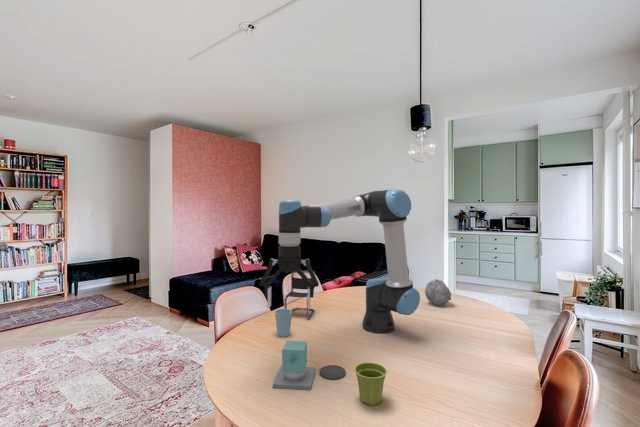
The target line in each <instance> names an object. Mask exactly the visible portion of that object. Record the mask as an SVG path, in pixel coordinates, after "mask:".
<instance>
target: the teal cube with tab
mask: <svg viewBox="0 0 640 427" xmlns="http://www.w3.org/2000/svg"><path fill="white" fill-rule="evenodd" d="M307 364H308V341H304V340H286V341H285V343H284V345H283V347H282V349H281V366H282V371H284V372H304V371H305V368H306V367H307Z"/></svg>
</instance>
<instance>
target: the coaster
mask: <svg viewBox="0 0 640 427" xmlns="http://www.w3.org/2000/svg"><path fill="white" fill-rule="evenodd" d="M318 373H319V376H320V377H321V378H322V379H325V380H330V381H336V380H338V381H339V380H340V379H343V378H345V377H346V373H347V371H346V369H345V368H344V367H343V366H341V365H337V364H327V365H324V366H322V367H320V369H319V372H318Z"/></svg>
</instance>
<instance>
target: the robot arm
mask: <svg viewBox="0 0 640 427" xmlns="http://www.w3.org/2000/svg"><path fill="white" fill-rule="evenodd" d="M411 211H412V201H411V198H410V196H409V194H407V193H406V191H404V190H403V189H398V188H397V189H396V188H394V189H393V188H391V189H384V190H374V191H370V192H366V193H362V194H357V195H354V196H352V198H348V199H347V198H346V199H342V200H341V199H339V200H335V201H327V202H321V203H316V204H309V205H308V204H307V205H302V203H301V201H300V200H296V199H295V200H293V199H290V200H289V199H286V200H281V201H280V202H279V205H278V213H277V214H278V258H277V259H274V258H270V259H269V260H268V266H267V268H266V270H265V272H264V274H263V276H262V278H261V280H260V281H259V284H258V285H259V287H263V288H264V297H265V298H267V308H268V309H269V308H271V306H272V286H271V284H272V283H273V282H274V281H275V280H276V278H277V277H278V276H279V275H280V274H281V273H282V272H284V273H292V272H295V271H296V272H297V273H296V274H298V275H299V277H301V278H302V279H303V280H304V281H305V282H306V283H307V285H308V286H309V287H308V290H307V293H308V297H307V298H308V308H309V309H311V308H310V307H311V299H312V298H314V294H313V289H314V290H315V288H317V287H319V281H318V279H317V276H316V275H315V274H316V273H315V274H314V272H315V271H314V272H313V269H312V267H311V264H310V259H309V258H306V259H301V245H300V244H301V238H302V237H301V230H302V229H301V228H319V229H320V228H326V227H329V225H330V223H331V220H337V219H342V218H348V217H353V216H355V217H357V218H358V217H359V218H360V217H375V218H376V217H378V222H379V223H380V224H381V225H382V227H383V236H384V248H385V257H386V268H387V277H382V278H381V277H378V278H371V279H368V280H367V281H366V282H365V284H366V285H365V313H364V316H363V319H362V322H361V323H362V328H363V329H364V330H365V331H367V332H371V333H376V334H387V333H390V332H391V333H392V332H393V331H394V330H395V329H396V328H395V327H396V323H395V320H394V317H393V314H392V312H395V313H397V314H399V315H404V316H411V315H412V314H414V313H415V312H416V311H417V309H418V308H419V305H420V302H421V295H420V292H419V290H417V289H416V288H414V284H413V281H412V279H411V278H409V271H408V270H409V268H408V259H407V249H406V248H407V247H406V238H405V237H406V236H405V227H404V226H405V225H404V224H405V223H406V222H407V218H408V216H409V215H410V213H411ZM276 264H277V265H278V267H279V268H278V270H276V272H274V274H273V275H272V276H271V278H269V280H268V281H267V278H268V276H269V275H270V273H271V271H272V269H273V266H275V265H276ZM302 264H303V266H304V267H305V268H306V271H308V272H309V273H308V274H309V276H310V278H312V280H313V282H314V283H312V282H311V281H310V280H309V279H308V278H309V277H308V276H307V275H306V273H303V271H304V270H302V268H300V266H301V265H302Z"/></svg>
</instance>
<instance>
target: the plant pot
mask: <svg viewBox="0 0 640 427" xmlns="http://www.w3.org/2000/svg"><path fill="white" fill-rule="evenodd" d="M353 370H354V373H355V376H356V378H357V385H358V390H359V391H358V392H359V398H360V401H361V402H362V403H365V404H366V405H368V406H376V405H378V404H380V403H381V402H382V398H383V390H384V383H385V379H386V378H385V377H386V375H387V373H388V370H387V368H386V367H385V366H384V365H382V364H380V363H376V362H367V361H366V362H361V363H358V364H356V365H355V366H354V369H353Z"/></svg>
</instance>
